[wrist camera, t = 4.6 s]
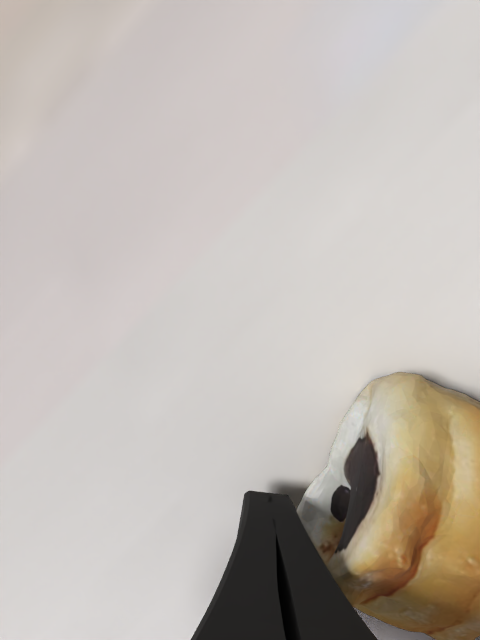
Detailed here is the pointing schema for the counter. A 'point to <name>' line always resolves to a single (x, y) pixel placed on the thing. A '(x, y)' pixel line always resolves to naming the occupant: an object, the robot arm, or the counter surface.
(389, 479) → the pastry
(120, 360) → the counter surface
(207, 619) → the robot arm
